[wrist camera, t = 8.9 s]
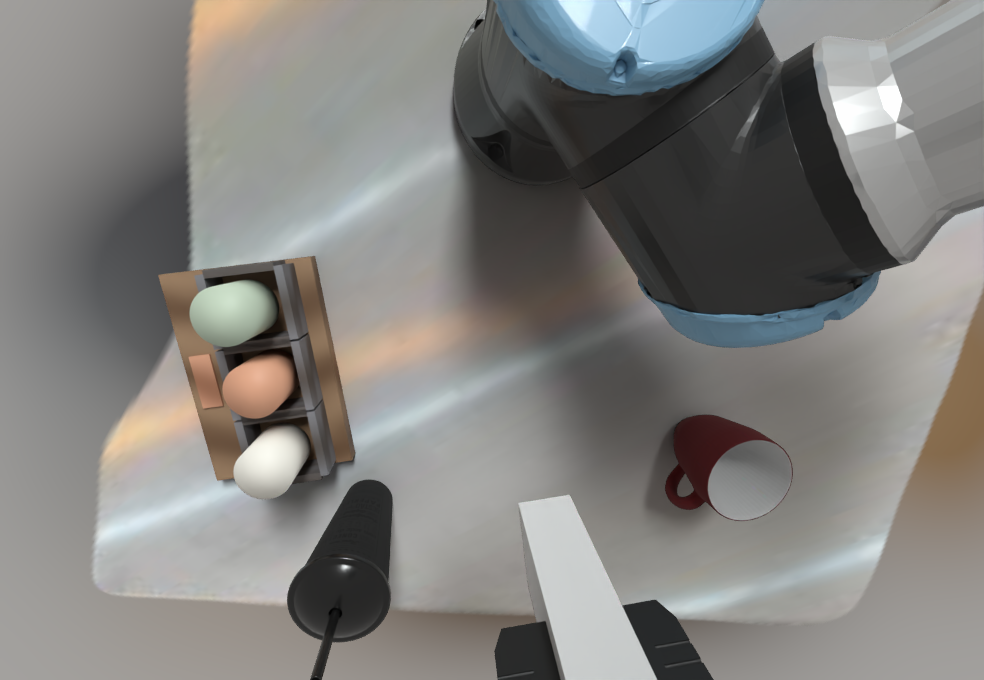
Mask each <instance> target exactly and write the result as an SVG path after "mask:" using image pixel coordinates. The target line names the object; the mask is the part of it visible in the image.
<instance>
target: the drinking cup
mask: <svg viewBox="0 0 984 680" xmlns="http://www.w3.org/2000/svg"><path fill="white" fill-rule="evenodd" d="M391 520H392V495H391V492H390V490H389V489H388V488H387V487H386V486H385V485H384V484H383V483H381V482H379V481H375V480H363V481H360V482H357V483H356V484H354V485H353V486H352V487H351V488H350V489H349V491H348V492H347V494H346V496H345V497H344V499H343V501H342V503H341V504H340V506H339V508H338V510H337V511H336V513H335V515H334V516H333V518H332V520H331V522H330V523H329V525H328V527H327V528H326V530H325V532H324V534H323V535H322V537H321V539H320V541H319V542H318V544H317V546H316V547H315V549H314V551H313V553H312V554H311V556H310V558H309V560H308V561H307V563H306V565H305V566H304V567H303V568H302V569H300V571H299V572H298V573H297V574H296V576H295V577H294V579H293V581H292V583H291V585H290V587H289V591H288V596H287V604H288V610H289V613H290V615H291V617H292V619H293V621H294V622H295V623H296V625H297V626H298V627H299V628H300V629H301V630H302V631H304V632H305V633H307V634H309V635H310V636H312V637H314V638H317V639H320V640H322V643H321V646H320V650H319V653H318V656H317V660H316V663H315V666H314V669H313V672H312V676H311V679H310V680H322V677H323V673H324V669H325V666H326V662H327V659H328V655H329V651H330V648H331V645H332V642H347V641H353V640H356V639H359V638H362V637H364V636H366V635H368V634H369V633H371V632H372V631H373V630H375V629H376V628H377V627H378V626H379V625H380V624H381V622H382V621H383V620H384V618H385V617H386V615H387V613H388V610H389V606H390V600H391V591H390V586H389V583H388V578H389V559H390V539H391Z"/></svg>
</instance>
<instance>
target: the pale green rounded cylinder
mask: <svg viewBox="0 0 984 680" xmlns="http://www.w3.org/2000/svg"><path fill="white" fill-rule="evenodd" d="M278 315H279V303H278V300H277V297H276V295H275V294H274V292H273V291H272V290H271V289H270V288H269V287H268V286H266V285H265V284H263V283H261V282H259V281H256V280H240V281H236V282H231V283H226V284H222V285H217V286H212V287H209V288H206V289H204V290H202V291H201V292H199V293H198V294H197V295H196V296H195V298H194V299H193V301H192V303H191V306H190V320H191V323H192V326H193V328H194V329H195V331H196V332H197V334H198V335H199V336H200V337H201V338H202V339H204V340H205V341H207V342H209V343H211V344H213V345H216V346H221V347H231V346H236V345H239V344H241V343H243V342H245V341H246V340H248V339H250V338H252V337H254V336H256V335H258V334H260V333H262V332H264V331H266V330H268V329H269V328H270V327H272V326H273V325H274V323H275V322H276V320H277V318H278Z"/></svg>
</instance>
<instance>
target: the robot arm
mask: <svg viewBox="0 0 984 680" xmlns="http://www.w3.org/2000/svg"><path fill="white" fill-rule="evenodd" d="M763 2H764V0H487V7H486V9H485V10H484V11H483V12H482V13H481V14H480V15H479V16H478V17H477V19H476V20H475V21H474V23H473V24H472V25H471V27H470V29H469V30H468V32H467V34H466V36H465V38H464V40H463V42H462V45H461V47H460V50H459V53H458V57H457V61H456V66H455V73H454V88H453V93H454V106H455V112H456V116H457V120H458V123H459V126H460V129H461V131H462V133H463V136H464V138H465V140H466V141H467V143H468V145H469V146H470V148H471V149H472V151H473V152H474V153H475V154H476V156H477V157H478V158H479V159H480V160H481V161H482V162H483V163H484V164H485V165H486V166H488V167H489V168H490V169H491V170H493V171H494V172H496V173H497V174H499V175H501V176H503V177H505V178H507V179H509V180H512V181H515V182H519V183H523V184H530V185H545V184H552V183H556V182H560V181H563V180H565V179H568V178H570V177H572V176H573V177H574V179H575V180H576V182H577V183H578V185H579V186H580V189H581V191H582V192H583V194H584V196H585V197H586V199H587V200H588V202H589V203H590V205H591V206H592V208H593V209H594V211H595V213H596V214H597V216H598V217H599V219H600V220H601V222H602V223H603V225H604V226H605V228H606V229H607V231H608V233H609V234H610V236H611V237H612V239H613V240H614V242H615V243H616V245H617V246H618V248H619V250H620V251H621V253H622V254H623V256H624V257H625V259H626V260H627V262H628V263H629V265H630V266H631V268H632V270H633V271H634V273H635V274H636V276H637V277H638V284H639V286H640V288H641V290H642V291H643V293H644V294H645V296H646V297H647V298H648V299H650V300H651V301H652V302H653V303H654V304H656V306H657V307H658V308H659V310H660V311H661V313H662V314H663V315H664V317H665V318H666V319H667V321H668V322H669V324H670V325H671V326H672V327H673V328H674V329H675V330H676V331H678V332H680V333H681V334H683V335H684V336H686V337H687V338H689V339H691V340H693V341H696V342H699V343H703V344H706V345H711V346H717V347H728V348H742V347H757V346H765V345H771V344H777V343H782V342H786V341H790V340H793V339H797V338H800V337H803V336H806V335H809V334H812V333H814V332H817V331H819V330H821V329H823V327H824V321H826V320H842V319H843V318H845V317H846V316H848V315H850V314H851V313H853V312H854V311H855V310H857V309H858V308H860V307H861V306H862V305H863V304H864V303H865V302H866V301H867V300H868V298H869V297H870V296H871V294H872V293H873V292H874V290H875V289H876V286H877V284H878V280H879V275H880V273H881V270H885V269H889V268H892V267H896V266H900V265H904V264H907V263H910V262H913V261H915V260H916V259H917V258H918V256H919V255H920V254H921V252H922V251H923V250H924V249H925V247H926V246H927V245H928V243H929V242H930V241H931V239H932V238H933V237H934V236H935V234H936V233H937V232H938V230H939V229H940V228H941V227H942V226H943V225H944V224H945V223H946V222H948V221H949V220H950V219H951V218H952V217H954V216H955V215H957V214H960V213H964V212H967V211H970V210H973V209H976V208H979V207H982V206H984V0H951V1H949V2H948V3H946V4H944V5H942V6H941V7H939V8H937V9H936V10H934V11H932V12H930V13H929V14H927V15H925V16H924V17H922V18H920V19H918V20H917V21H915V22H913V23H912V24H910V25H908V26H906V27H905V28H903V29H901V30H900V31H898V32H896V33H894V34H893V35H891V36H889V37H886V38H884V39H878V40H872V41H868V40H860V39H851V38H843V37H835V36H826V37H824V38H822V39H820V40H818V41H816V42H815V43H813V44H811V45H810V46H808V47H807V48H805V49H804V50H802V51H800V52H799V53H797V54H796V55H794V56H793V57H791V58H789V59H788V60H786V61H783V62H780V61H779V60H778V58H777V57H776V55H775V53H774V51H773V48H772V46H771V44H770V42H769V40H768V38H767V36H766V34H765V32H764V30H763V28H762V26H761V24H760V21H759V19H758V17H757V14H758V13H759V10H760V8H761V6H762V4H763ZM518 504H519V513H520V522H521V530H522V539H523V548H524V557H525V565H526V574H527V583H528V587H529V592H530V596H531V600H532V604H533V609H534V613H535V617H536V621H537V623H531V624H526V625H520V626H515V627H509V628H503V629H501V632H500V635H499V639H498V642H497V645H496V649H495V660H496V668H497V677H498V680H713V678H712V677H711V675H710V673H709V672H708V670H707V668H706V667H705V665H704V663H702V662H701V659H700V657H699V655H698V653H697V652H696V650H695V648H694V647H693V645H692V644H690V641H689V638H688V637H687V635H686V633H685V632H684V630H683V628H682V627H681V625H680V623H679V622H678V620H677V618H676V617H675V616H674V615H673V614H672V613H671V612H669V611H668V610H667V609H666V608H665V607H664V606H662V605H661V604H660V603H659V602H658V601H657V600H651V601H645V602H640V603H634V604H628V605H623V606H622V605H621V602H620V600H619V598H618V596H617V594H616V592H615V590H614V588H613V586H612V583H611V581H610V579H609V577H608V575H607V573H606V571H605V569H604V566H603V564H602V562H601V560H600V558H599V556H598V554H597V552H596V550H595V547H594V545H593V543H592V541H591V539H590V537H589V535H588V533H587V531H586V528H585V526H584V524H583V522H582V520H581V518H580V516H579V514H578V512H577V509H576V507H575V505H574V503H573V501H572V499H571V497H570V495H565V496H559V497H553V498H546V499H540V500H534V501H528V502H522V503H518Z"/></svg>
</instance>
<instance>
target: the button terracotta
mask: <svg viewBox="0 0 984 680" xmlns="http://www.w3.org/2000/svg"><path fill="white" fill-rule="evenodd" d="M299 384H300V382H299V378H298V373H297V369H296V364H295V360H294V358H293V357H292V356H291V355H290V354H288V353H286V352H284V351H281V350H275V349H272V350H266V351H263V352H261V353H259V354H257V355H256V356H254V357H252V358H251V359H249V360H248V361H246V362H244V363H243V364H241V365H240V366H238V367H236V368H235V369H233V370H232V371H231V372H230V373H229V374H228V375H227V376H226V378H225V380H224V382H223V388H222V391H223V397H224V400H225V402H226V403H227V405H228V406H229V407H230V408H231V409H232V410H233V411H234V412H235V413H237V414H239V415H241V416H243V417H246V418H254V419H256V418H263V417H266V416H268V415H270V414H271V413H273V412H274V411H275V410H276V409H277V408H278V407H279V406H280V405H281V404H282V403H283V402H284V401H285V400H286V399H287V398H288V397H289V396H290V395H291V394H292V393H293V392H294V391H295V390H296V389H297V387H298V386H299Z"/></svg>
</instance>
